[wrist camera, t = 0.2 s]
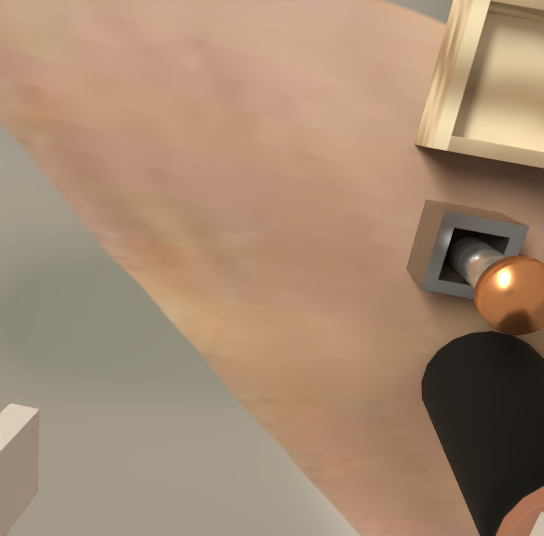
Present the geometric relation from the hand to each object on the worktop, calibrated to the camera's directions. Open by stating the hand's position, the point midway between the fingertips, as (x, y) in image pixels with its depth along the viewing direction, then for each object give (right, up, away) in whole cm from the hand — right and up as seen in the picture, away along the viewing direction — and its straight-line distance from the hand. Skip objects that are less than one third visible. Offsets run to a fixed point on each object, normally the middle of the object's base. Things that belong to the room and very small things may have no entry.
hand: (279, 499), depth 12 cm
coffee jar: (+19, -4, +29) cm, 35 cm away
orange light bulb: (+14, +7, +21) cm, 27 cm away
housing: (+15, +8, +25) cm, 30 cm away
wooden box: (+17, +19, +21) cm, 33 cm away
